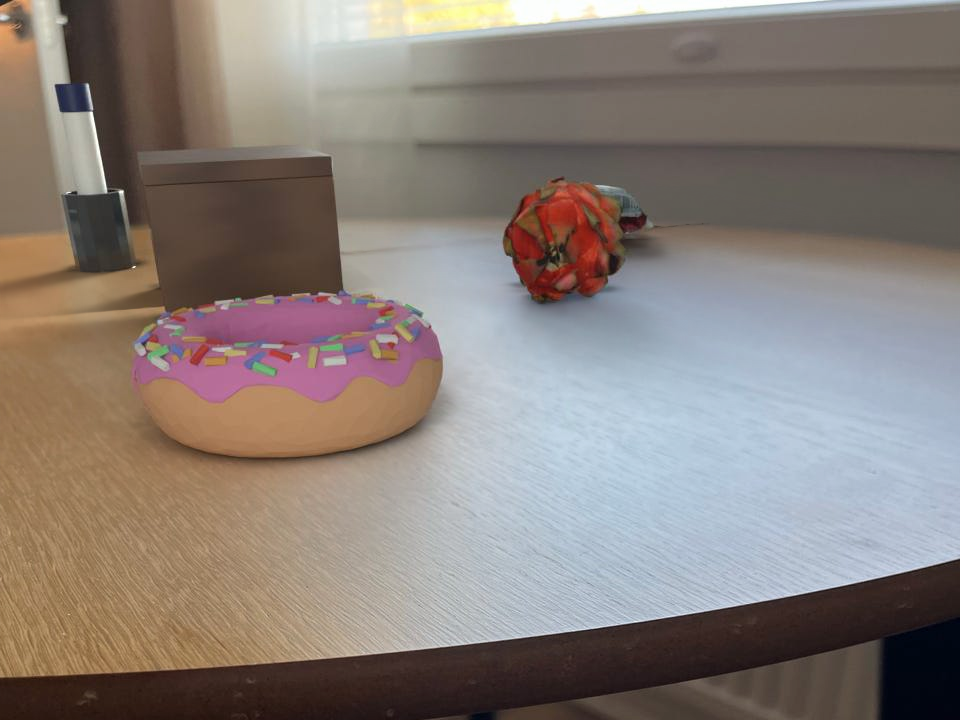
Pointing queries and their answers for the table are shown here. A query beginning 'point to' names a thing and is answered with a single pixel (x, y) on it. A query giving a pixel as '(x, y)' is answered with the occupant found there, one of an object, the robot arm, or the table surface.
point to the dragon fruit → (565, 240)
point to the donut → (288, 373)
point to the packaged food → (627, 210)
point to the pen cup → (99, 231)
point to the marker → (81, 137)
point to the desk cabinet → (241, 223)
